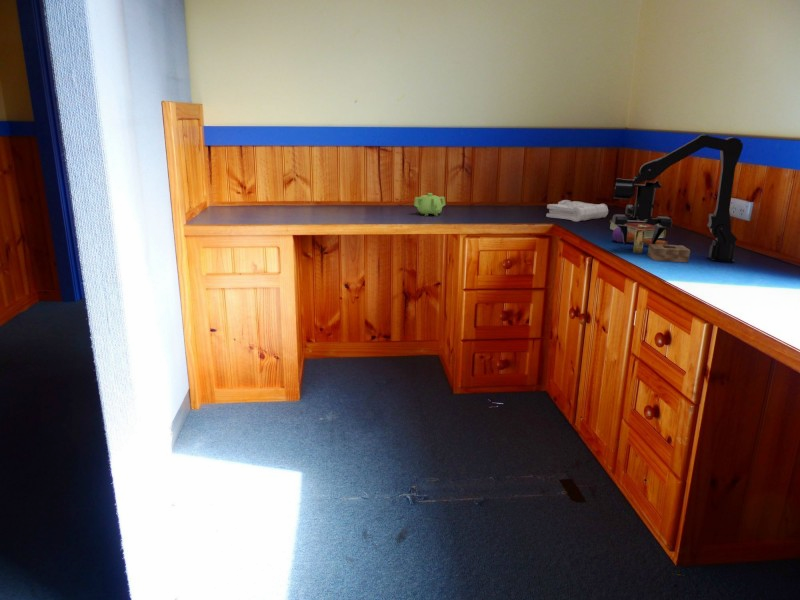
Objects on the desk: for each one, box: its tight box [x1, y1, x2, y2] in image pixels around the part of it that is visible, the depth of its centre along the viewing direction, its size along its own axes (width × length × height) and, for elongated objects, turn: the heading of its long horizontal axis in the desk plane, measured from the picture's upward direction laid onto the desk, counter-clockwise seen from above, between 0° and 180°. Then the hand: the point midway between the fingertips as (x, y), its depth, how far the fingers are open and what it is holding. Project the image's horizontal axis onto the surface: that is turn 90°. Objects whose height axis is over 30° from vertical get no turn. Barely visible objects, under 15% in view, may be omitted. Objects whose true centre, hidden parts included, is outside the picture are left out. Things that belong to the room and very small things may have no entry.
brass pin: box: [632, 229, 645, 254], centre depth 215 cm, size 3×3×8 cm
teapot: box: [413, 192, 446, 217], centre depth 282 cm, size 12×12×10 cm
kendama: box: [611, 227, 668, 246], centre depth 228 cm, size 6×6×20 cm
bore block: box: [647, 244, 691, 263], centre depth 207 cm, size 11×8×4 cm
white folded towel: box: [546, 199, 609, 223], centre depth 289 cm, size 19×28×8 cm
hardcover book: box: [609, 220, 667, 239], centre depth 251 cm, size 12×21×4 cm, turn 14°
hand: (638, 245), depth 215 cm, fingers open, 9 cm apart
